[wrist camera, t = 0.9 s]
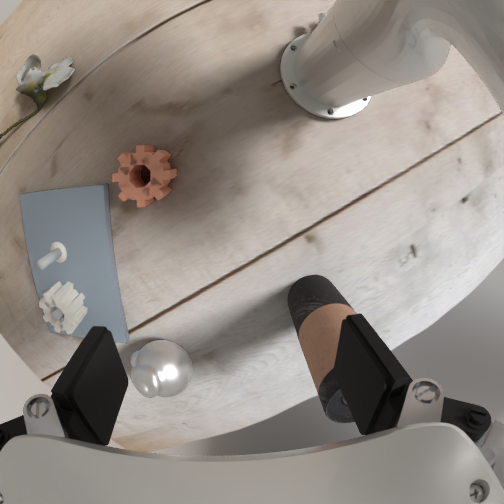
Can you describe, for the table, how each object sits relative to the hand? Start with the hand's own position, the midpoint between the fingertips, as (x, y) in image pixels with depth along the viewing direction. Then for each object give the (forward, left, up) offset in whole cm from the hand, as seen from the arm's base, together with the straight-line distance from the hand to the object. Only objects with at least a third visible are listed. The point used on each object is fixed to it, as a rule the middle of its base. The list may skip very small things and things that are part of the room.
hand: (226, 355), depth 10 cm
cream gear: (+13, -25, -24) cm, 37 cm away
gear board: (+8, -24, -26) cm, 36 cm away
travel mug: (+12, +12, -26) cm, 31 cm away
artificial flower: (-18, -32, -26) cm, 45 cm away
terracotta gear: (-5, -10, -26) cm, 28 cm away
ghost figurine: (+22, -10, -26) cm, 35 cm away
